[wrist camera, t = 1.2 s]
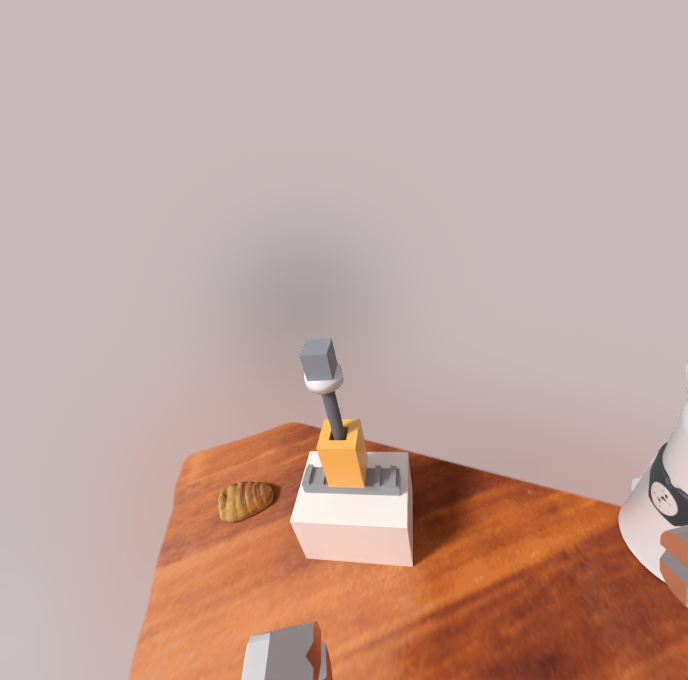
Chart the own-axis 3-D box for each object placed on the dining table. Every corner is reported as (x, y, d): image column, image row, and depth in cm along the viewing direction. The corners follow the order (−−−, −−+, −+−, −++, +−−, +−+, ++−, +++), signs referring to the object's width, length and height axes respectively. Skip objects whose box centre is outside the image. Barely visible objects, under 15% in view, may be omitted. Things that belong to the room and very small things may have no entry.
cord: (368, 472, 54) (338, 334, 41) (365, 499, 51) (331, 357, 37) (340, 471, 55) (302, 337, 42) (335, 498, 52) (291, 359, 38)
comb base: (412, 491, 61) (406, 440, 55) (412, 566, 52) (405, 516, 45) (322, 488, 65) (306, 440, 58) (306, 558, 55) (285, 510, 48)
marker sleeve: (368, 457, 53) (359, 418, 48) (364, 488, 49) (355, 448, 44) (335, 457, 54) (324, 419, 50) (328, 487, 50) (316, 448, 46)
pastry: (273, 481, 68) (268, 468, 66) (275, 513, 63) (268, 500, 61) (224, 495, 68) (217, 482, 66) (221, 529, 62) (213, 516, 60)
